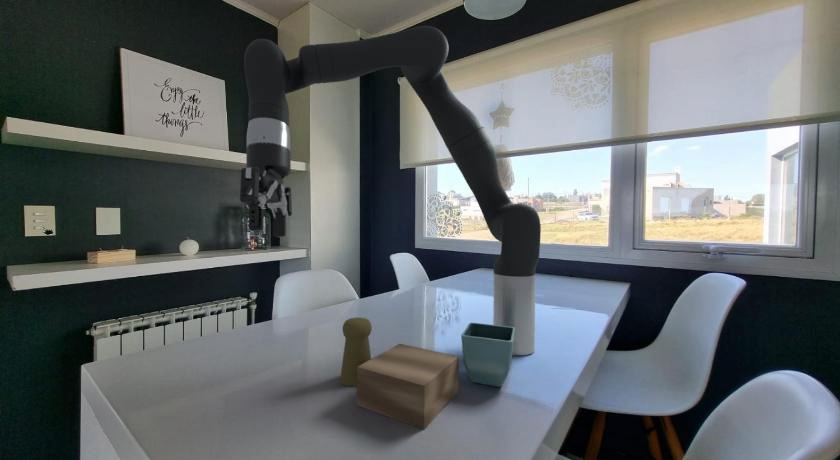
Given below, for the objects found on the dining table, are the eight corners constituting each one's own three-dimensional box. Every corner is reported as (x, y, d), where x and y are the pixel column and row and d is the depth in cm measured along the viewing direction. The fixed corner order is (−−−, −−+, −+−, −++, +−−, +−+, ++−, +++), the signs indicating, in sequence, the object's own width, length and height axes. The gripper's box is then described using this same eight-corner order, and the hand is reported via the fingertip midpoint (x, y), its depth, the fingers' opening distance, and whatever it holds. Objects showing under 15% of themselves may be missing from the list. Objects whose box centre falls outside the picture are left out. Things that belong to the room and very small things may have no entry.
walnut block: (399, 375, 62) (399, 343, 61) (458, 391, 56) (458, 356, 56) (356, 405, 51) (357, 366, 51) (424, 429, 45) (424, 385, 45)
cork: (366, 388, 57) (366, 324, 57) (334, 384, 58) (334, 322, 58) (378, 373, 63) (378, 315, 62) (348, 370, 64) (348, 313, 64)
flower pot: (515, 373, 63) (515, 326, 63) (512, 395, 55) (512, 341, 54) (469, 366, 66) (469, 321, 66) (460, 386, 57) (460, 335, 57)
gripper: (270, 130, 55) (269, 227, 52) (303, 160, 69) (304, 237, 67) (225, 134, 55) (223, 230, 53) (268, 162, 69) (268, 239, 67)
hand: (268, 234), depth 60 cm, fingers open, 8 cm apart
